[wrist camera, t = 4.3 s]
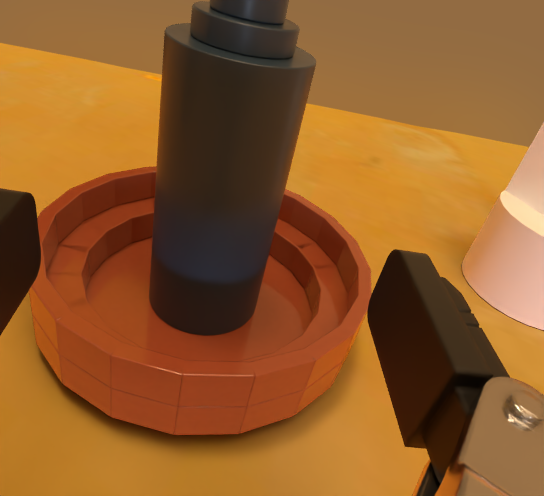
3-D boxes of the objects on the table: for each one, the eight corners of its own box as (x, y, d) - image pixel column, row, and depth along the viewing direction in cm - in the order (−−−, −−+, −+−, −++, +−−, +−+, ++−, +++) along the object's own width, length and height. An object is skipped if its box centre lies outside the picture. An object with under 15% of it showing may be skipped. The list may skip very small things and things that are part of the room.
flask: (124, 300, 23) (134, -188, 12) (192, 251, 27) (240, -137, 17) (218, 354, 21) (320, -155, 11) (273, 292, 26) (383, -108, 15)
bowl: (-45, 321, 21) (-68, 242, 18) (176, 199, 33) (181, 143, 31) (256, 530, 16) (283, 464, 13) (379, 296, 29) (405, 240, 26)
